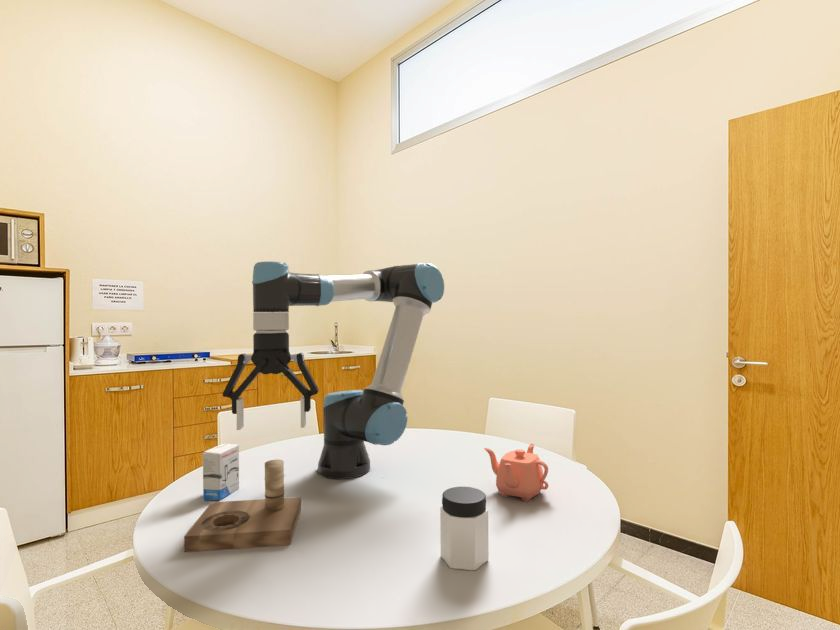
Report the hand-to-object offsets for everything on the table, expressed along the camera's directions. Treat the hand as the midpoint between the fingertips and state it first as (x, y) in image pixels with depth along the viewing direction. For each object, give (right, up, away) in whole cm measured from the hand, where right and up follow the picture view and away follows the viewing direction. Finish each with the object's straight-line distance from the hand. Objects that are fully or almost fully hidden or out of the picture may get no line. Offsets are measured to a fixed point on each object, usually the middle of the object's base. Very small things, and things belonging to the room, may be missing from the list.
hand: (272, 427), depth 101 cm
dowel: (+1, -18, 0) cm, 18 cm away
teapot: (+57, -21, +15) cm, 63 cm away
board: (-4, -21, -4) cm, 22 cm away
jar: (+41, -21, -16) cm, 49 cm away
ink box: (-18, -21, +15) cm, 32 cm away
